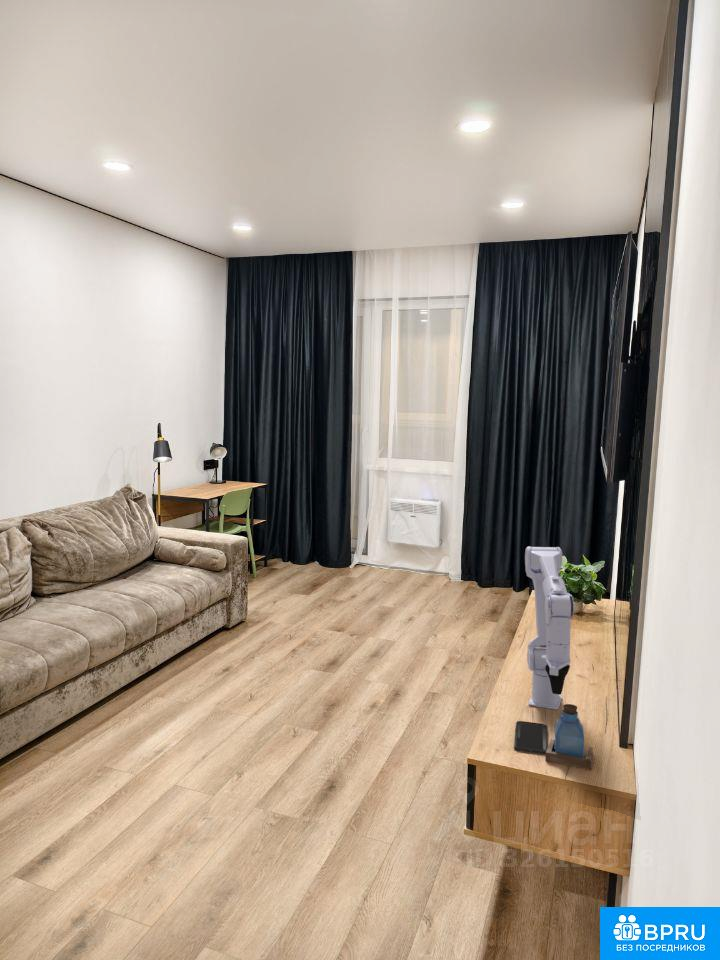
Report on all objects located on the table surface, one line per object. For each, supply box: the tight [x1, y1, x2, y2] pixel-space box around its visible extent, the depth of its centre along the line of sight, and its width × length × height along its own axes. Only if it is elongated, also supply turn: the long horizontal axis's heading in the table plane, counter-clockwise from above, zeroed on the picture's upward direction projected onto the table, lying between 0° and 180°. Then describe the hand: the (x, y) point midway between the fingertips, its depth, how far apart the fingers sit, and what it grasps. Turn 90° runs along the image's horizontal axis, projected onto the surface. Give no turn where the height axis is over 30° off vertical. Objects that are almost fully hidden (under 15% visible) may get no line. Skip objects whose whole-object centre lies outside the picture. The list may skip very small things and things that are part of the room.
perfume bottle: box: [554, 703, 585, 758], centre depth 153 cm, size 6×6×12 cm
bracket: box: [544, 738, 594, 771], centre depth 153 cm, size 7×10×2 cm
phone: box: [513, 720, 548, 755], centre depth 162 cm, size 8×1×15 cm
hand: (556, 693), depth 167 cm, fingers closed
